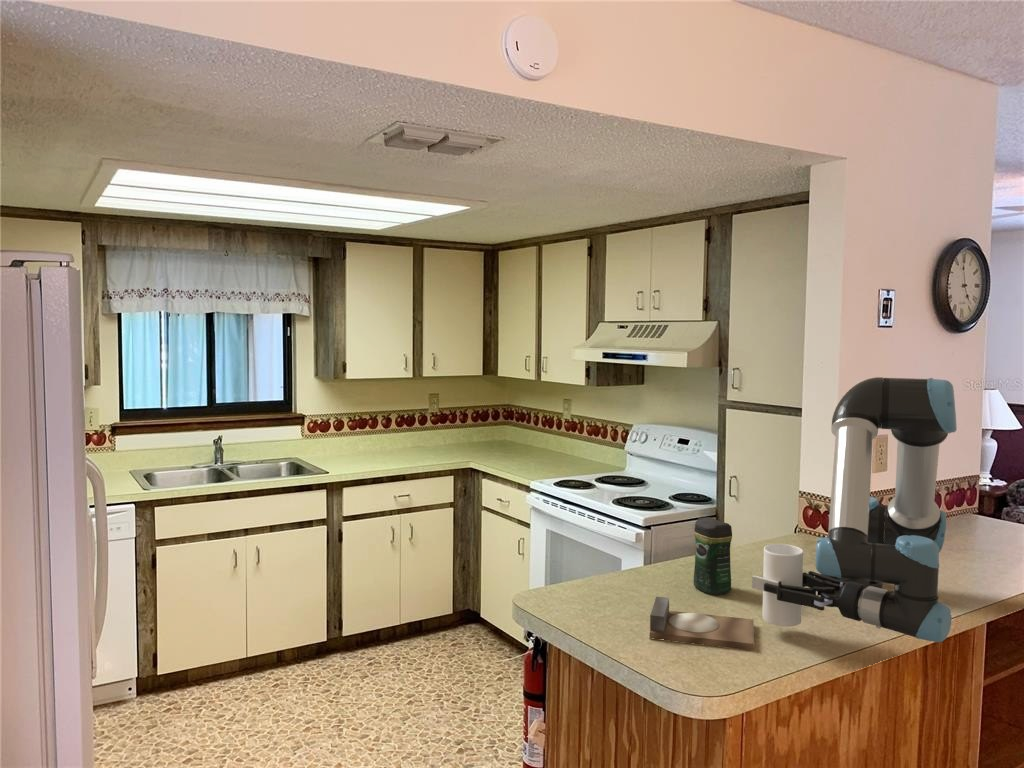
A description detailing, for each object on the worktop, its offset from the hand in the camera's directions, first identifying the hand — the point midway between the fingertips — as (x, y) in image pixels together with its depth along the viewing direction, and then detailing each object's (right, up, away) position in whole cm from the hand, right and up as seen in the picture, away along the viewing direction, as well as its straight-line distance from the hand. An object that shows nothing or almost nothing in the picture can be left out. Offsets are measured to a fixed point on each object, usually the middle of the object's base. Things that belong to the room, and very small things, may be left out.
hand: (763, 576), depth 175 cm
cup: (+3, -9, -3) cm, 10 cm away
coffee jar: (-5, -10, +26) cm, 28 cm away
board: (-14, -12, -1) cm, 19 cm away
